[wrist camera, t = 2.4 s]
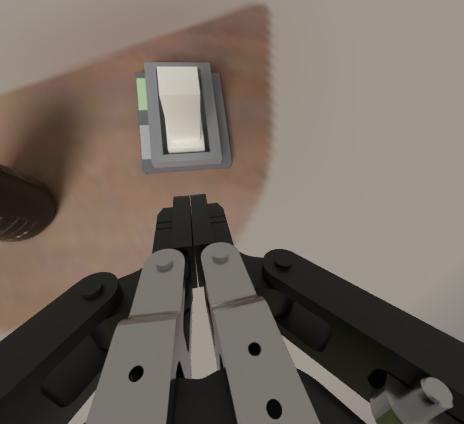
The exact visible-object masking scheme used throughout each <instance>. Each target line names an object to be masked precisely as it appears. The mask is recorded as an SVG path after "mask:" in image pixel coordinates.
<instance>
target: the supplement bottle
mask: <svg viewBox="0 0 464 424" xmlns="http://www.w3.org/2000/svg"><path fill="white" fill-rule="evenodd" d="M54 213H55V199H54V196H53V194H52V192H51V191H50V189H49V188H48V187H47V186H46V185H45V184H44V183H42V182H40V181H39V180H37V179H34V178H32V177H30V176H28V175H26V174H23V173H21V172H18V171H16V170H14V169H11V168H9V167H7V166H4V165H2V164H0V241H6V242H14V241H22V240H26V239H29V238H32V237H34V236H36V235H38V234H39V233H41V232H42V231H43V230H44V229H45V228H46V227H47V226H48V225H49V224H50V222H51V220H52V219H53V216H54Z"/></svg>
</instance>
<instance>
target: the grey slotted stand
mask: <svg viewBox="0 0 464 424" xmlns="http://www.w3.org/2000/svg"><path fill="white" fill-rule="evenodd" d="M157 66H158V67H197V72H198V80H199V88H200V113H201V120H202V129H203V137H204V146H205V151H204V152H201V153H184V154H169V152H168V146H167V135H166V124H165V116H164V112H163V108H162V104H161V101H160V97H159V88H158V77H157ZM144 68H145V73H136V86H137V100H138V115H139V130H140V145H141V160H142V170H143V171H144V172H145V174H149V173H163V172H177V171H191V170H204V169H218V168H230V167H231V164H232V160H231V152H230V145H229V138H228V131H227V123H226V116H225V109H224V102H223V94H222V87H221V80H220V73H211V69H210V63H190V62H144Z"/></svg>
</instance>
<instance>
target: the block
mask: <svg viewBox="0 0 464 424" xmlns="http://www.w3.org/2000/svg"><path fill="white" fill-rule="evenodd" d="M157 77H158V88H159V97H160V101H161V104H162V108H163V112H164V116H165V124H166V135H167V146H168V152H169V154H184V153H201V152H204V151H205V146H204V137H203V129H202V120H201V113H200V88H199V80H198V72H197V67H158V66H157Z"/></svg>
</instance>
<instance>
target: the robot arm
mask: <svg viewBox="0 0 464 424" xmlns="http://www.w3.org/2000/svg"><path fill="white" fill-rule="evenodd" d="M190 197H191V206H190V198H189V195H188V196H177V197H174V198H173V207H170V208H163V209H162V210H161V212H160V213H159V214H158V216H157V224H156V230H155V237H154V244H153V251H152V254H151V255H150V256H149V257H148V258H147V259H146V260H145V262H144V265H143V268H141V269H140V270H138V271H136V272H134V273H132V274H130V275H127V276H124V277H122V278H119V279H117V277H116V276H115V275H113V274H111V273H108V272H99V273H95V274H92V275H89V276H87V277H85V278H83V279H82V280H80V281H79V282H78V283H76V284H75V285H74V286H72V287H71V288H70V289H68V290H67V291H66V292H64V293H63V294H62V295H60V296H59V297H58V298H57V299H55V300H54V301H53V302H51V303H50V304H49V305H47V306H46V307H45V308H43V309H42V310H41V311H40V312H38V313H37V314H36V315H34V316H33V317H32V318H30V319H29V320H28V321H26V322H25V323H24V324H23V325H21V326H20V327H19V328H17V329H16V330H15V331H13V332H12V333H11V334H9V335H8V336H7V337H5V338H4V339H3V340H2V341H0V424H68V422H69V421H70V420H71V419H72V418H73V416H74V415H75V414H76V413H77V412H78V411H79V409H80V408H81V407H82V406H83V404H84V403H85V402H86V401H87V400H88V398H89V397H90V396H91V395H92V394H93V392H94V391H95V390H96V392H95V395H94V398H93V402H92V405H91V408H90V411H89V415H88V417H87V421H86V422H85V423H84V424H366V423H365V422H364V421H363V420H361V419H360V418H359V417H358V416H357V415H356V414H355V413H353V412H352V411H351V410H350V409H349V408H348V407H347V406H345V405H344V404H343V403H342V402H341V401H340V400H339V399H337V398H336V397H335V396H334V395H333V394H332V393H331V392H329V391H328V390H327V389H326V388H325V387H324V386H323V385H321V384H320V383H319V382H318V381H316V380H315V379H314V378H312V377H311V376H309V375H308V374H306V373H305V372H303V371H301V370H299V369H297V368H295V365H294V363H293V361H292V358H291V356H290V354H289V352H288V350H287V347H286V345H285V343H284V341H283V338H282V336H281V335H283V336H284V337H285V338H287V339H288V340H289V341H290V342H292V343H293V344H294V345H296V346H297V347H298V348H299V349H301V350H302V351H303V352H305V353H306V354H307V355H309V356H310V357H311V358H312V359H314V360H315V361H316V362H318V363H319V364H320V365H322V366H323V367H324V368H325V369H327V370H328V371H329V372H331V373H332V374H333V375H334V376H336V377H337V378H338V379H339V380H341V381H342V382H343V383H345V384H346V385H347V386H349V387H350V388H351V389H352V390H354V391H355V392H356V393H358V394H359V395H360V396H361V397H363V398H364V399H365V400H367V401H368V402H369V403H370V406H371V411H372V414H373V417H374V419H375V421H376V423H377V424H464V343H463V342H461V341H459V340H457V339H455V338H453V337H452V336H450V335H448V334H446V333H444V332H442V331H440V330H438V329H436V328H434V327H433V326H431V325H429V324H427V323H425V322H423V321H421V320H419V319H418V318H416V317H414V316H412V315H410V314H408V313H406V312H404V311H402V310H401V309H399V308H397V307H395V306H393V305H391V304H389V303H387V302H386V301H384V300H382V299H380V298H378V297H376V296H374V295H372V294H370V293H368V292H367V291H365V290H363V289H361V288H359V287H357V286H355V285H353V284H352V283H350V282H348V281H346V280H344V279H342V278H340V277H338V276H336V275H335V274H333V273H331V272H329V271H327V270H325V269H323V268H321V267H319V266H317V265H316V264H314V263H312V262H310V261H308V260H306V259H304V258H302V257H301V256H299V255H297V254H295V253H293V252H291V251H288V250H284V249H275V250H271V251H269V252H268V253H266V254H265V256H264V258H259V257H252V256H247V255H245V254H242V253H241V252H239V251H238V249H237V248H236V247H235V246H234V244H233V241H232V238H231V234H230V231H229V227H228V224H227V220H226V217H225V213H224V210H223V208H222V207H221V206H220V205H219V204H218V203H211V204H207V200H206V195H205V194H198V195H190ZM191 211H192V215H191ZM195 257H196V259H195ZM196 265H197V273H198V281H199V287H204V292H205V301H206V308H207V313H208V318H209V324H210V329H211V335H212V340H213V345H214V351H215V356H216V364H217V369H218V371H216V372H214V373H212V374H211V375H209V376H207V377H205V378H203V379H192V372H191V371H192V370H191V333H192V301H193V293H192V288H197V287H198V286H197V273H196Z"/></svg>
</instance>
